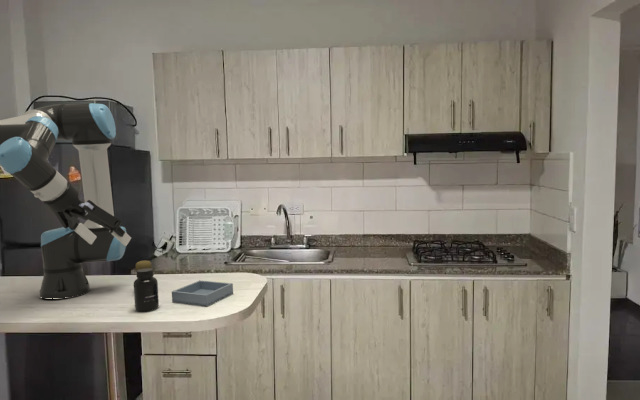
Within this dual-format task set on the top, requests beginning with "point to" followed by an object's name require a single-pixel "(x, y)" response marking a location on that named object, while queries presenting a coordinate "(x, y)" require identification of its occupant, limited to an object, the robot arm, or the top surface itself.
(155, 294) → the supplement bottle
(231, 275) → the top surface
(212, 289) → the tray
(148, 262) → the cork
